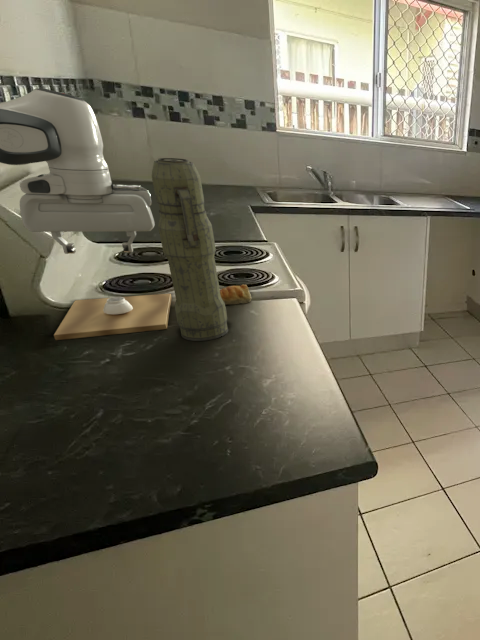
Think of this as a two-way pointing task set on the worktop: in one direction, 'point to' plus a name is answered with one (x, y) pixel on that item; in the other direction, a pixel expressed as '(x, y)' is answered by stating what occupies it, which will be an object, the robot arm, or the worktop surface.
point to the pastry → (235, 294)
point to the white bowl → (117, 306)
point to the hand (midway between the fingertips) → (100, 252)
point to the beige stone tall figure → (189, 249)
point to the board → (115, 317)
